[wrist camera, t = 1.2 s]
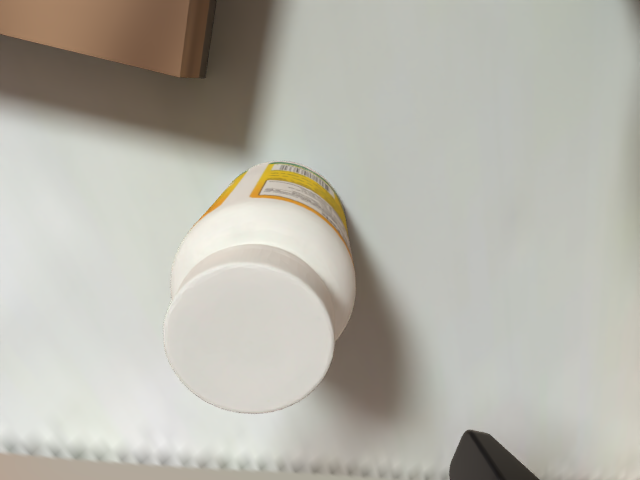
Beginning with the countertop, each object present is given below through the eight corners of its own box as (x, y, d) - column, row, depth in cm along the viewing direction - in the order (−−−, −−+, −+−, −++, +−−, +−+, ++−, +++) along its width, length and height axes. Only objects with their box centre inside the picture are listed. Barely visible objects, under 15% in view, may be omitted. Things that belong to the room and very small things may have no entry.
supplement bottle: (325, 143, 19) (333, 202, 10) (358, 262, 20) (392, 409, 11) (199, 179, 19) (92, 269, 10) (241, 293, 21) (183, 458, 12)
